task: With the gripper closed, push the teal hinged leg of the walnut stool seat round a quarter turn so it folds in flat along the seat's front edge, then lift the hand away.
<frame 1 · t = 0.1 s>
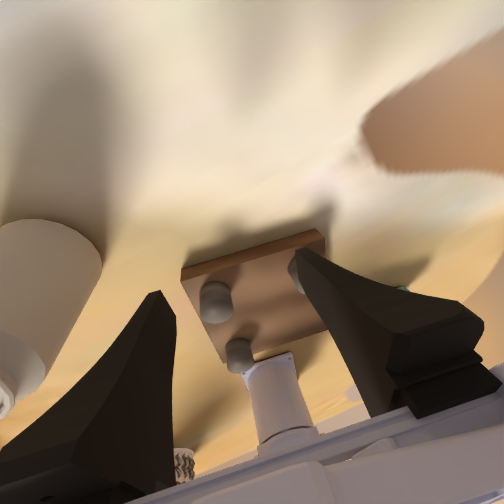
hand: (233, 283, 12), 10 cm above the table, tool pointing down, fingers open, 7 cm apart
grey patterned cylinder piece: (171, 456, 45), on the table
can: (56, 253, 20), on the table
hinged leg: (373, 315, 30), point 2 cm above the table, hinge at -90.0°
stool seat: (262, 297, 27), on the table
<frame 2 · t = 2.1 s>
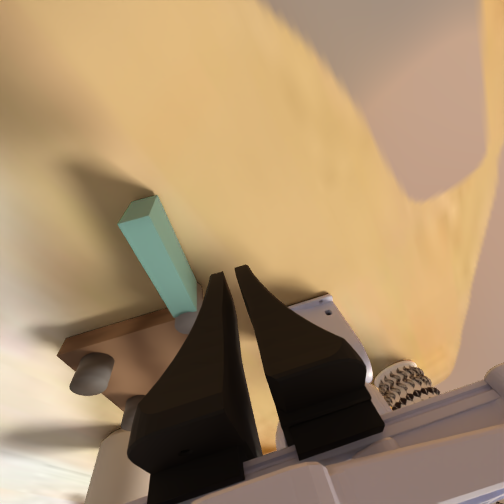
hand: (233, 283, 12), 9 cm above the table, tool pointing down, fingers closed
grey patterned cylinder piece: (394, 373, 44), on the table
can: (129, 434, 37), on the table
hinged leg: (171, 270, 19), point 2 cm above the table, hinge at -90.0°
stool seat: (162, 355, 28), on the table
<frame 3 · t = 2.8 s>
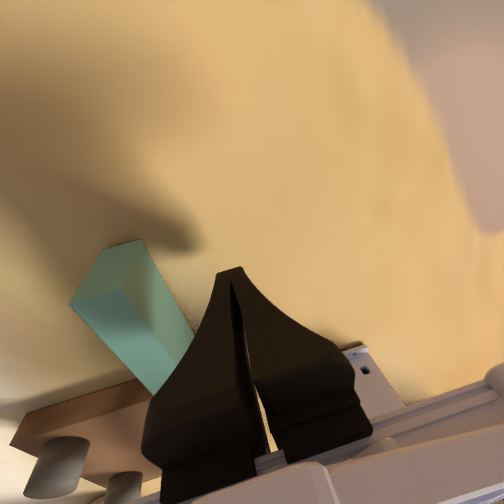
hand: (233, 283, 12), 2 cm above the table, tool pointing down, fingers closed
can: (117, 498, 31), on the table
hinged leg: (162, 341, 14), point 2 cm above the table, hinge at -90.0°
stool seat: (154, 421, 22), on the table
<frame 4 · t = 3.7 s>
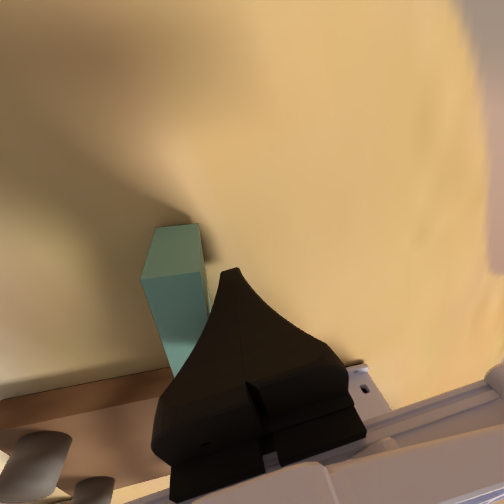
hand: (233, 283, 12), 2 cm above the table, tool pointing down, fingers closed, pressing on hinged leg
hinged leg: (194, 335, 13), point 2 cm above the table, hinge at -90.0°, touching gripper
stool seat: (140, 422, 21), on the table
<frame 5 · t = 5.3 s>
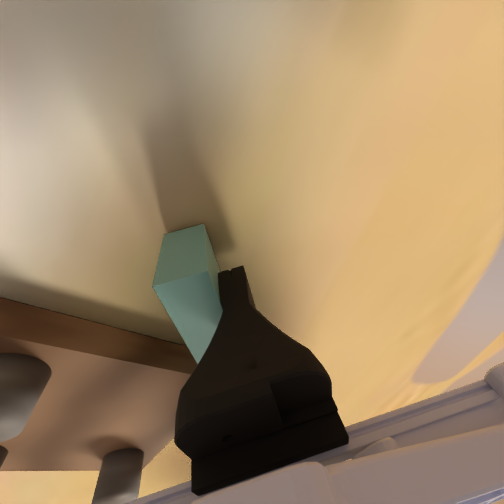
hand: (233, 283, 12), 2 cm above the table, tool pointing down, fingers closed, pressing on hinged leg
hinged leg: (218, 332, 13), point 2 cm above the table, hinge at -41.5°, touching gripper
stool seat: (93, 393, 17), on the table
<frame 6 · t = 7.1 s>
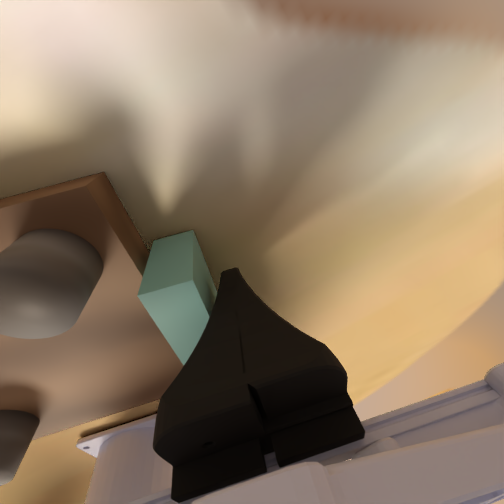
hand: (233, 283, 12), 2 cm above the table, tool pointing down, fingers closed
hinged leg: (209, 338, 13), point 2 cm above the table, hinge at -0.6°, touching gripper
stool seat: (50, 326, 13), on the table
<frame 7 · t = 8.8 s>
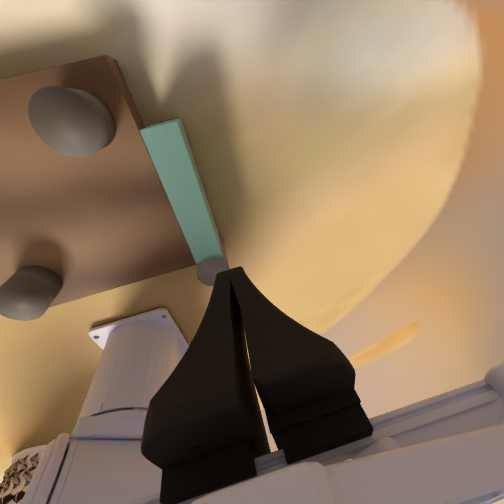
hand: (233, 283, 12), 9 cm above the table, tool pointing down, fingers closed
grey patterned cylinder piece: (48, 456, 35), on the table
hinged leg: (194, 209, 17), point 2 cm above the table, hinge at -0.3°
stool seat: (72, 202, 17), on the table
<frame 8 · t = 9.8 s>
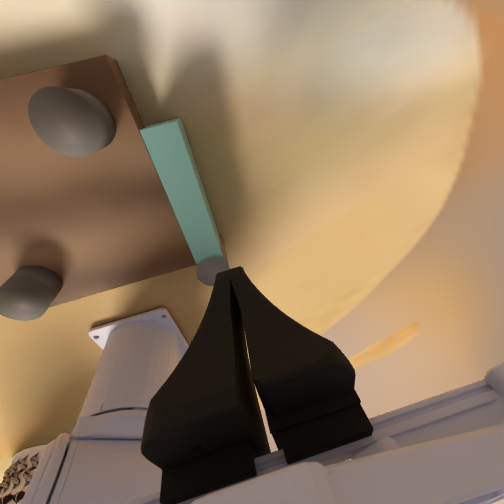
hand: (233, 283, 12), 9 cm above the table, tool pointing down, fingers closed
grey patterned cylinder piece: (48, 456, 35), on the table
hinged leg: (194, 209, 17), point 2 cm above the table, hinge at -0.3°
stool seat: (72, 202, 17), on the table
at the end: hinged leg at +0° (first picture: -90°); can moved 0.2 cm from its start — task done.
